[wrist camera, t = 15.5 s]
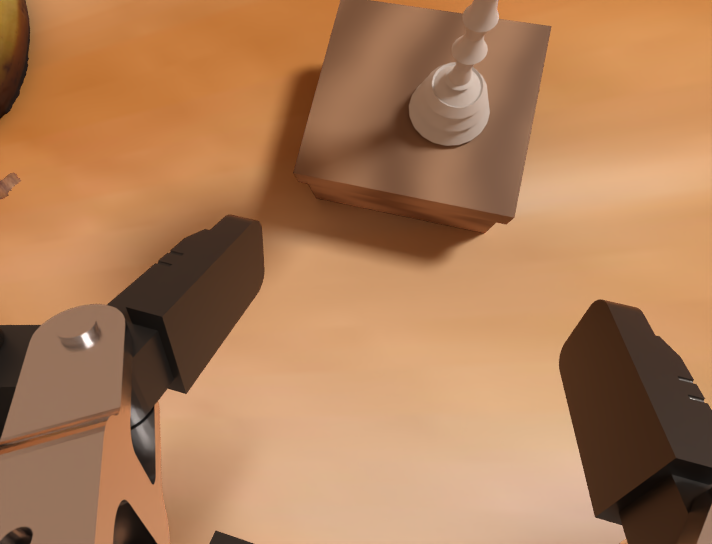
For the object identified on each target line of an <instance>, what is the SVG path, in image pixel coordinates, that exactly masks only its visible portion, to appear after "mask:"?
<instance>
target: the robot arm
mask: <svg viewBox="0 0 712 544" xmlns="http://www.w3.org/2000/svg"><path fill="white" fill-rule="evenodd" d="M263 278H264V255H263V239H262V227H261V224H260V222H259V221H256V220H251V219H247V218H243V217H238V216H234V215H227V216H225V217H224V218H223V219H222V220H221V221H220V222H218V223H217V224H216V225H215V226H214V227H213V228H212V229H211V230H206V229H204V230H202V231H200V232H198V233H195V234H193V235H191V236H188V237H186V238H184V239H183V240H182V241H181V242H180V243H179V244H177V245H176V246H175V247H174V248H173V249H172V250H171V252H170V253H167V254H166V255H165V256H163V257H162V258H161V259H160V260H159V261H158V264H154V265H153V266H152V267H151V268H149V269H148V270H147V271H146V272H145V273H144V274H142V275H141V276H140V277H139V278H138V279H137V280H135V281H134V282H133V283H132V284H131V285H130V286H128V287H127V288H126V289H125V290H124V291H123V292H121V293H120V294H119V295H118V296H117V297H116V298H114V299H113V300H112V301H111V302H110V303H108V304H107V305H102V304H90V305H83V306H79V307H75V308H71V309H68V310H66V311H63V312H61V313H59V314H57V315H55V316H53V317H52V318H50V319H49V320H47V321H46V322H45V323H43V324H42V325H0V544H170V534H169V525H168V518H167V513H166V508H165V504H164V499H163V492H162V471H161V437H160V407H159V402H158V400H159V399H160V397H161V396H162V395H163V394H164V392H165V391H166V390H167V388H168V389H171V390H175V391H178V392H181V393H185V394H187V392H188V391H189V389H190V388H191V387H192V385H193V384H194V382H195V381H196V379H197V378H198V377H199V375H200V374H201V372H202V371H203V370H204V368H205V367H206V365H207V364H208V363H209V361H210V360H211V358H212V357H213V356H214V354H215V353H216V351H217V350H218V348H219V347H220V346H221V344H222V343H223V341H224V340H225V339H226V337H227V336H228V334H229V333H230V332H231V330H232V329H233V327H234V326H235V324H236V323H237V322H238V320H239V319H240V317H241V316H242V315H243V313H244V312H245V310H246V309H247V308H248V306H249V305H250V303H251V302H252V300H253V299H254V298H255V296H256V295H257V293H258V292H259V290H260V288H261V285H262V282H263ZM559 369H560V374H561V378H562V382H563V386H564V390H565V395H566V399H567V403H568V407H569V411H570V415H571V419H572V424H573V428H574V432H575V436H576V440H577V444H578V448H579V453H580V457H581V461H582V465H583V469H584V473H585V477H586V482H587V486H588V490H589V494H590V498H591V502H592V506H593V511H594V515H595V517H596V518H599V519H603V520H606V521H609V522H613V523H616V524H620V525H623V529H624V532H625V536H626V539H625V540H623V541H622V542H620V543H619V544H712V410H711V408H710V407H709V405H708V404H707V403H704V399H705V398H704V396H703V395H702V393H701V391H700V390H699V388H698V386H697V384H693V380H694V379H693V378H692V376H691V374H690V372H689V371H688V369H687V367H686V366H685V364H684V362H683V360H682V359H681V357H680V356H679V355H678V354H677V353H676V352H675V351H674V350H673V349H672V348H671V347H670V346H669V345H668V344H667V343H666V342H665V341H664V340H663V339H662V338H661V337H660V336H655V334H654V332H653V330H652V329H651V327H650V325H649V323H648V321H647V319H646V318H645V316H644V314H643V312H642V311H641V310H640V309H638V308H636V307H632V306H627V305H623V304H618V303H614V302H610V301H605V300H597V301H595V302H594V303H592V304H591V306H590V307H589V309H588V310H587V311H586V313H585V314H584V316H583V317H582V319H581V320H580V322H579V323H578V325H577V326H576V327H575V329H574V330H573V332H572V333H571V335H570V336H569V338H568V339H567V341H566V342H565V344H564V345H563V347H562V350H561V353H560V359H559ZM210 544H253V543H250V542H247V541H245V540H242V539H239V538H236V537H233V536H230V535H227V534H224V533H221V532H218V531H215V533H214V535H213V537H212V539H211V541H210Z"/></svg>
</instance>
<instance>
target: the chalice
mask: <svg viewBox="0 0 712 544" xmlns="http://www.w3.org/2000/svg"><path fill="white" fill-rule="evenodd" d="M497 6H498V0H474V1H473V3H472V4H471V5H470V6H469V7H467V8H466V10H465V11H464V13H463V22H464V24H465V26H466V33H465V34H464V36H461V37H459V38H458V39H456V40H455V42H454V43H453V46H452V54H453V56H454V58H455V59H456V62H451V63H448V64H445V65H442V66H439V67H438V68H436V69H435V70H434V71H432V72H431V73H430V75H429V76H428V77H427V78H426V79H425V80H424V81H423V83H422V84H420V85H419V86H418V87H417V89H416V90H415V91H414V93H413V94H412V97H411V100H410V104H409V115H410V119H411V121H412V124H413V126H414V128H415V129H416V130H417V131H418V132H419V133H420V134H421V136H422V137H424V138H426V139H428V140H429V141H431V142H433V143H436V144H441V145H445V146H450V145H460V144H463V143H466V142H469V141H471V140H472V139H474V138H475V137H476V136H478V135H479V134H480V133H481V132H482V130H483V129H484V127H485V126H486V124H487V122H488V118H489V114H490V109H489V101H488V92H487V84H486V82H485V80H484V78H483V76H482V75H481V74H480V73H479V72H478V71H477V70H476V69H475V68H474V67H473V66H474V64H476V63H479V62H480V61H482V60H483V59H484V58H485V56H486V55H487V51H488V48H487V44H486V42H485V41H484V35H485V34H486V33H487V31H489V30H491V29H492V28H494V27H495V26H496V24H497V23H498V20H499V13H498V11H497Z"/></svg>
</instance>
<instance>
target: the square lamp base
mask: <svg viewBox="0 0 712 544" xmlns="http://www.w3.org/2000/svg"><path fill="white" fill-rule="evenodd" d="M550 31H551V26H545V25H538V24H531V23H524V22H517V21H510V20H503V19H499V20H498V23H497V24H496V26H495V27H494V28H492V29H491V30H489V31H487V33H486V34H485V35H484V41H485V42H486V44H487V48H488V51H487V55H486V56H485V58H484V59H483V60H482V61H480V62H479V63H476V64H474V66H473V67H474V68H475V69H476V70H477V71H478V72H479V73H480V74H481V75H482V76H483V78H484V80H485V82H486V84H487V92H488V101H489V109H490V114H489V118H488V122H487V124H486V126H485V127H484V129H483V130H482V132H481V133H480V134H479V135H478V136H476V137H475V138H474V139H472V140H471V141H469V142H466V143H463V144H460V145H450V146H445V145H441V144H436V143H433V142H431V141H429V140H428V139H426V138H424V137H422V136H421V134H420V133H419V132H418V131H417V130H416V129H415V128H414V126H413V124H412V121H411V119H410V115H409V104H410V100H411V97H412V94H413V93H414V91H415V90H416V89H417V87H418V86H419V85H420V84H422V83H423V81H424V80H425V79H426V78H427V77H428V76H429V75H430V73H431V72H432V71H434V70H435V69H436V68H438V67H439V66H442V65H445V64H448V63H451V62H456V59H455V58H454V56H453V54H452V46H453V43H454V42H455V40H456V39H458V38H459V37H461V36H464V34H465V33H466V26H465V24H464V22H463V14H461V13H455V12H448V11H441V10H434V9H427V8H420V7H413V6H406V5H399V4H392V3H385V2H378V1H371V0H340V4H339V8H338V11H337V15H336V19H335V22H334V26H333V30H332V33H331V37H330V41H329V44H328V48H327V52H326V55H325V59H324V63H323V66H322V70H321V74H320V77H319V81H318V84H317V88H316V92H315V95H314V99H313V103H312V106H311V110H310V114H309V117H308V121H307V125H306V128H305V132H304V136H303V139H302V143H301V147H300V150H299V154H298V158H297V161H296V165H295V169H294V172H293V173H294V175H295V177H296V178H297V180H298V182H302V183H306V184H309V186H310V188H311V190H312V192H313V193H314V195H315V197H316V198H318V199H323V200H328V201H333V202H338V203H342V204H347V205H352V206H357V207H362V208H366V209H371V210H376V211H381V212H386V213H390V214H395V215H400V216H405V217H410V218H414V219H419V220H424V221H429V222H434V223H438V224H443V225H448V226H453V227H458V228H462V229H467V230H472V231H477V232H482V233H485V232H487V231H488V230H489V229H490V228H491V227H492V226H493V225H494V224H495V223H496V222H497V223H502V224H507V223H508V222H510V221H511V220H512V219H513V218H514V216H515V211H516V206H517V201H518V196H519V191H520V185H521V180H522V175H523V170H524V165H525V160H526V154H527V149H528V144H529V139H530V134H531V129H532V123H533V118H534V113H535V108H536V103H537V98H538V93H539V87H540V82H541V77H542V72H543V67H544V62H545V56H546V51H547V46H548V41H549V36H550Z"/></svg>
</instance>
